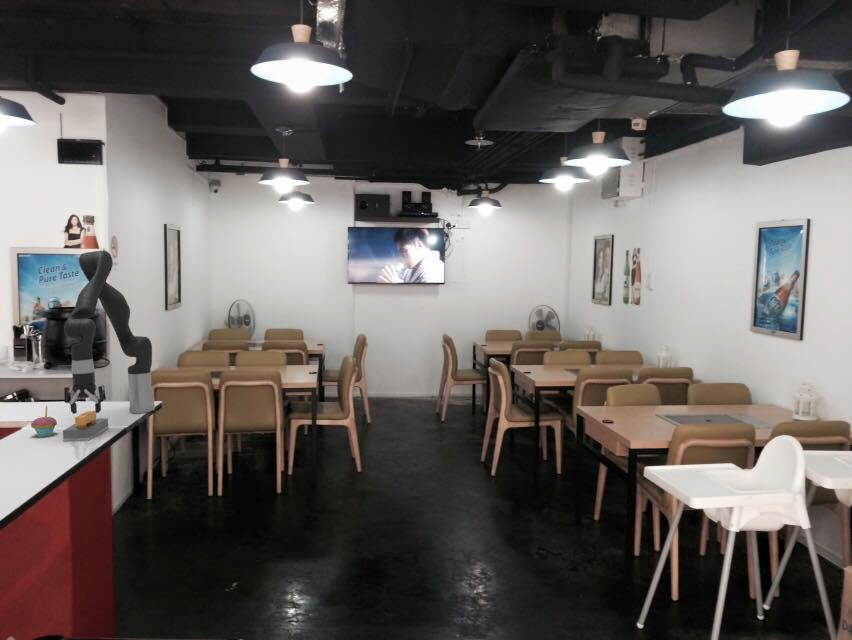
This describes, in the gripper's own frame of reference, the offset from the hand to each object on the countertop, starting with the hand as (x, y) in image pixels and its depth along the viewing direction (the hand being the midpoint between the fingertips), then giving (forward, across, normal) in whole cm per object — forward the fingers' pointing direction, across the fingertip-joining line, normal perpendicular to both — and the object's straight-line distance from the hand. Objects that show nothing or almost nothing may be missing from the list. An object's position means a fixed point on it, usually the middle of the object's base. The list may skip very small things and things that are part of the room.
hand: (86, 412), depth 253 cm
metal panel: (+8, 0, 0) cm, 8 cm away
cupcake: (+8, +16, -1) cm, 18 cm away
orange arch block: (+7, 0, 0) cm, 7 cm away
